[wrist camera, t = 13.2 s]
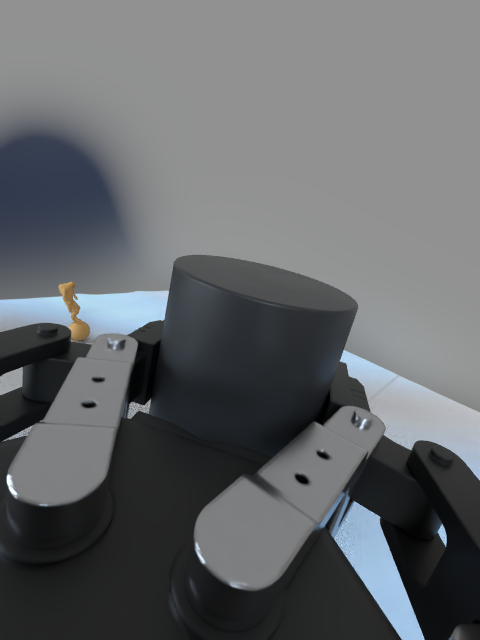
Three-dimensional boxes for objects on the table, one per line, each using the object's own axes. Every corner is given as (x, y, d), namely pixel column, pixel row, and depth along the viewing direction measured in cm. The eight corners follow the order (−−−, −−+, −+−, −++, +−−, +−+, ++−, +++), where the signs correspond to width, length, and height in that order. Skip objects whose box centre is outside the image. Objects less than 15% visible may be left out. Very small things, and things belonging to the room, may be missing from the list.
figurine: (87, 349, 67) (92, 290, 63) (52, 347, 64) (55, 286, 61) (90, 332, 74) (95, 278, 70) (59, 329, 72) (62, 274, 68)
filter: (32, 525, 14) (46, 226, 10) (215, 450, 21) (263, 252, 17) (141, 851, 8) (278, 389, 4) (354, 595, 14) (480, 328, 11)
